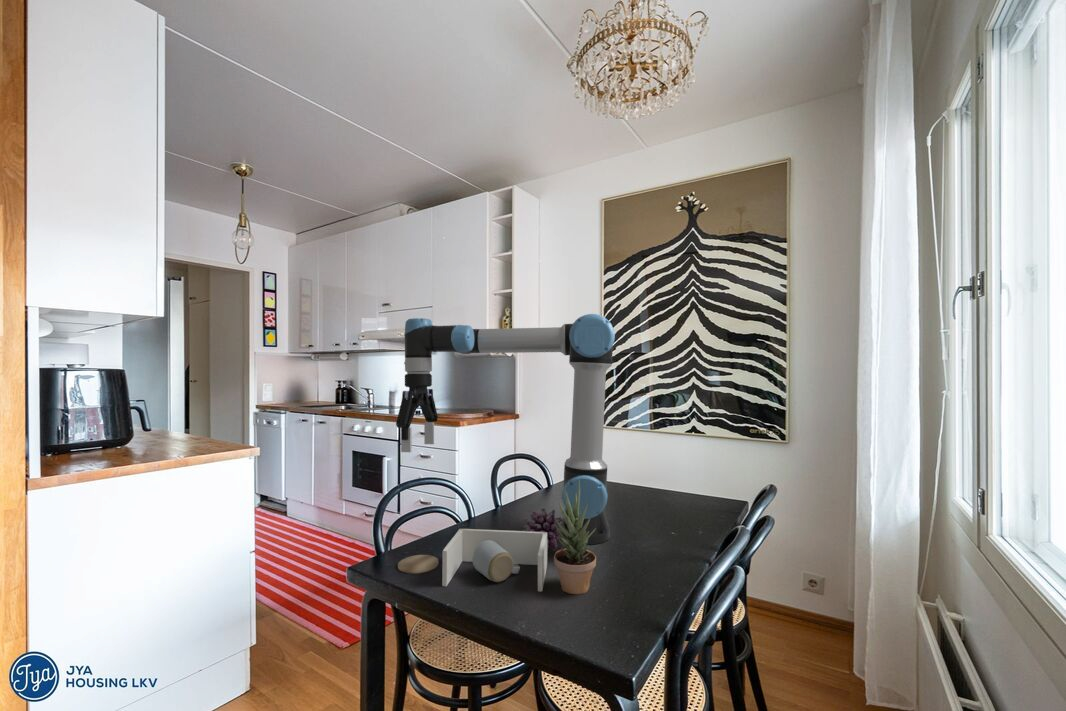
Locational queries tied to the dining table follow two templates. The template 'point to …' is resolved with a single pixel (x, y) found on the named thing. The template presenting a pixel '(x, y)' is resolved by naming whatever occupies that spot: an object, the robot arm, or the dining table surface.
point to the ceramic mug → (494, 561)
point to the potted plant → (574, 550)
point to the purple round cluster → (545, 526)
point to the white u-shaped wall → (516, 543)
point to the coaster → (418, 564)
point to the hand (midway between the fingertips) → (418, 448)
